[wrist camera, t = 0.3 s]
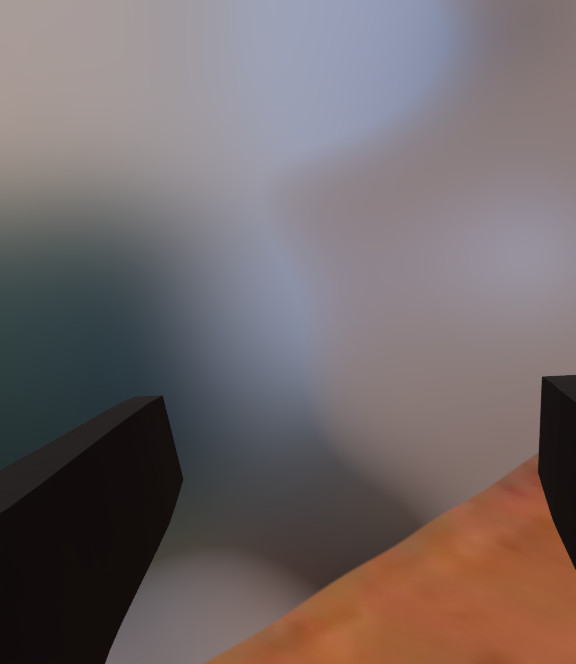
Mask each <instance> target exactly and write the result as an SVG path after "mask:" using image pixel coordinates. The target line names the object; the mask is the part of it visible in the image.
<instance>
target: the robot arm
mask: <svg viewBox="0 0 576 664" xmlns="http://www.w3.org/2000/svg"><path fill="white" fill-rule="evenodd" d="M540 414H541V415H540V438H539V462H538V474H539V477H540V480H541V484H542V487H543V490H544V494H545V497H546V500H547V503H548V506H549V510H550V513H551V516H552V519H553V522H554V524H555V526H556V528H557V531H558V533H559V535H560V537H561V539H562V541H563V544H564V546H565V548H566V550H567V552H568V554H569V557H570V559H571V561H572V563H573V565H574V567H575V569H576V375H566V376H546V377H542V390H541V413H540ZM182 482H183V476H182V472H181V468H180V464H179V460H178V456H177V452H176V448H175V444H174V440H173V436H172V431H171V428H170V423H169V419H168V415H167V411H166V407H165V403H164V399H163V396H143V397H133V398H131V399H129V400H126V401H124V402H122V403H120V404H118V405H116V406H114V407H112V408H110V409H108V410H106V411H105V412H103V413H101V414H99V415H98V416H96V417H94V418H92V419H91V420H89V421H87V422H85V423H84V424H82V425H80V426H78V427H77V428H75V429H73V430H72V431H70V432H68V433H67V434H65V435H63V436H61V437H60V438H58V439H56V440H54V441H53V442H51V443H49V444H48V445H46V446H44V447H42V448H40V449H38V450H36V451H34V452H33V453H31V454H29V455H27V456H26V457H23V458H22V459H20V460H18V461H16V462H14V463H12V464H11V465H9V466H7V467H5V468H3V469H1V470H0V664H105V662H106V659H107V657H108V654H109V651H110V648H111V646H112V644H113V642H114V639H115V637H116V635H117V632H118V630H119V628H120V626H121V623H122V621H123V619H124V617H125V615H126V613H127V611H128V609H129V607H130V605H131V603H132V601H133V599H134V597H135V595H136V593H137V590H138V588H139V586H140V584H141V582H142V580H143V578H144V576H145V574H146V572H147V570H148V568H149V566H150V564H151V562H152V560H153V557H154V555H155V553H156V551H157V549H158V547H159V545H160V543H161V541H162V538H163V536H164V534H165V532H166V530H167V527H168V525H169V523H170V520H171V517H172V514H173V511H174V508H175V505H176V502H177V499H178V495H179V492H180V489H181V485H182Z"/></svg>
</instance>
